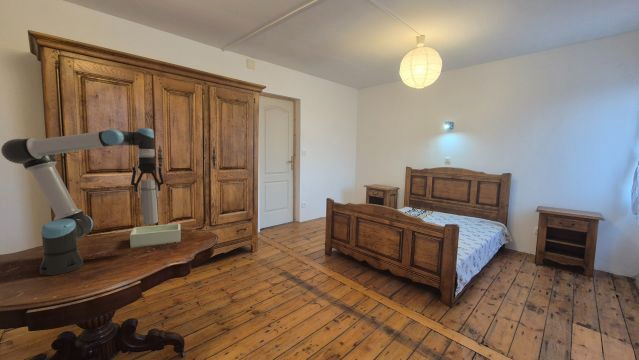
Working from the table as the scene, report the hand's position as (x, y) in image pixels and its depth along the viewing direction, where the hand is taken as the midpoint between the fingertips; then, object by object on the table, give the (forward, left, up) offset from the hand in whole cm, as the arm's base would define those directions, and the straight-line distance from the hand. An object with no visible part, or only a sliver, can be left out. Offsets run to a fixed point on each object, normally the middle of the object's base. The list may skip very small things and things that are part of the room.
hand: (148, 197), depth 148 cm
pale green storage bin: (+2, +19, -32) cm, 37 cm away
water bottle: (0, 0, -15) cm, 15 cm away
